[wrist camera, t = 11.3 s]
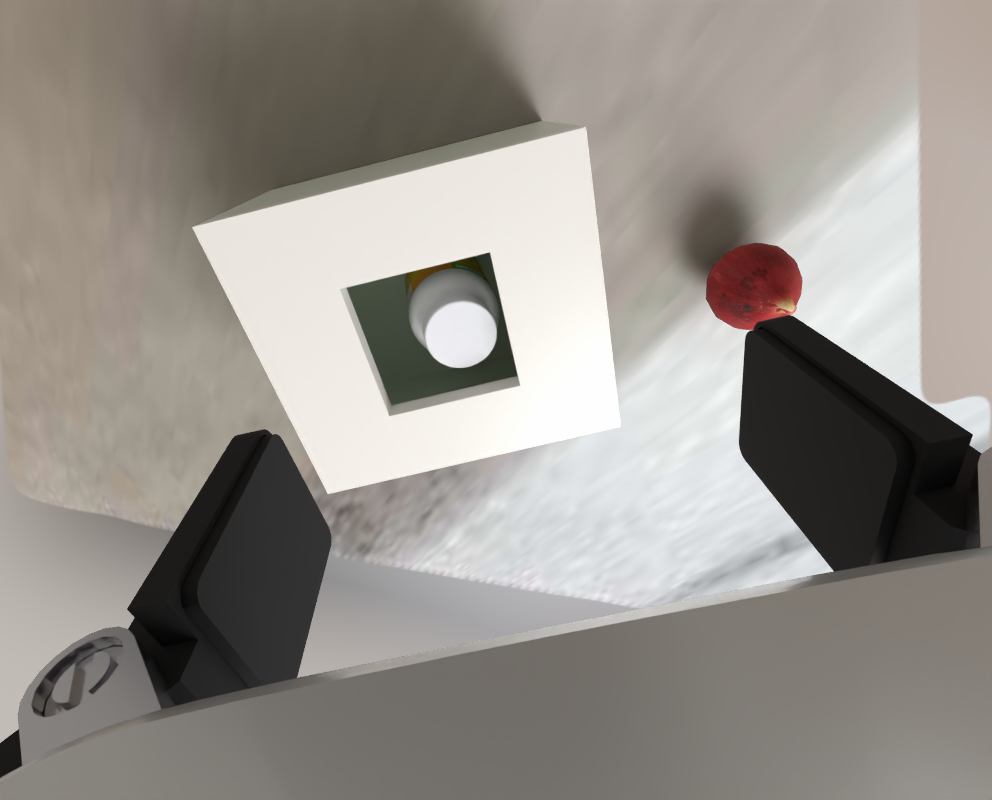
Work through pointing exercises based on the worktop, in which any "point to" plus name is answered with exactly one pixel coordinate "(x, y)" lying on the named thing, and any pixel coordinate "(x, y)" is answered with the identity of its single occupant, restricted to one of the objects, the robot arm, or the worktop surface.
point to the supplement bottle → (453, 311)
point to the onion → (753, 285)
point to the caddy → (384, 311)
